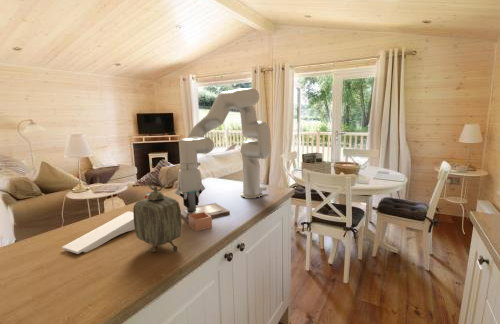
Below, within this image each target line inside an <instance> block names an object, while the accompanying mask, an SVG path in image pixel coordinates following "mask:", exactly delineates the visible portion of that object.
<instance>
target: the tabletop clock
mask: <svg viewBox="0 0 500 324" xmlns="http://www.w3.org/2000/svg"><path fill="white" fill-rule="evenodd" d="M152 181H156V182H158V184H159V185H160V188H158V186H154V187H152V186H151V182H152ZM147 185H148V188H149V189H151V190H152V191H151V192H152V193H150V195H149V196H148V198H147V199H144V198H143V199H141V200H139V201H137V202H135V204H134V205H133V211H132V212H133V214H134V227H135V230H134V232H135V236H136V238H137V239H138V240H140V241H142V242H145V243H147V244H150V245H153V247H151V250H150V251H151V253H155V252H157V248H156V246H164V245H166V244H167V243H169V244H170V245H171V246H172V249H173V251H177V250H178V245H175V244H174V243H173V241H174V240H177V239H178V238H181V235H182V231H183V230H182V229H183V228H182V227H183V226H182V225H183V224H182V223H183V222H182V221H183V220H182V219H183V218H182V217H181V205H180V203H179V201H178V200H176V199H175V198H173V197H169V196H167V195H164V194H163V193H162V189H163V184H162V182H161V180H160V179H158V178H154V177H153V178H152V177H151V178H150V179H149V180H148V184H147Z"/></svg>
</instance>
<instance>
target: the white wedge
mask: <svg viewBox="0 0 500 324" xmlns="http://www.w3.org/2000/svg"><path fill="white" fill-rule="evenodd" d="M130 231H131V232H132V231H135V227H134V214H133V211H129V210H128V211H126V212H123V213H122V214H120V215H119V216H116V217H115V218H112V219H111V220H110V221H107V222H105V223H103V224H102V225H100V226H98V227H96V228H95V229H93V230H91V231H89V232H87V233H85V234H83V235H82V236H80V237H78V238H75V239H74V240H72V241H70V242H69V243H67V244H65V245H62V246H61V248H62V250H63V251H67V252H69V253H73V254H76V255H79V254H81V253H88V252H90V251H92V250H94V249H96V248H98V247H100V246H101V245H103V244H105V243H106V242H109V241H111V239H114V238H116V237H117V236H119V235H122V234H124V233H126V232H130Z"/></svg>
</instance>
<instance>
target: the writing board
mask: <svg viewBox="0 0 500 324" xmlns="http://www.w3.org/2000/svg"><path fill="white" fill-rule="evenodd" d="M180 210H181V219H183V221H185V222H186V223H187V224H189V216H188V215H191V214H196V213H201V212H206V213H207V214H208V215H210V216H211V217H212V219H213V218H219V217H224V216H227V215H230V213H231V212H230V210H229V209H227V208H225V207H224V206H221V205H220V204H218V203H217V202H214V203H213V202H211V203H209V204H208V203H207V204H204V205H198V206H197V205H196V211H195V212H187V208H182V209H181V208H180Z"/></svg>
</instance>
